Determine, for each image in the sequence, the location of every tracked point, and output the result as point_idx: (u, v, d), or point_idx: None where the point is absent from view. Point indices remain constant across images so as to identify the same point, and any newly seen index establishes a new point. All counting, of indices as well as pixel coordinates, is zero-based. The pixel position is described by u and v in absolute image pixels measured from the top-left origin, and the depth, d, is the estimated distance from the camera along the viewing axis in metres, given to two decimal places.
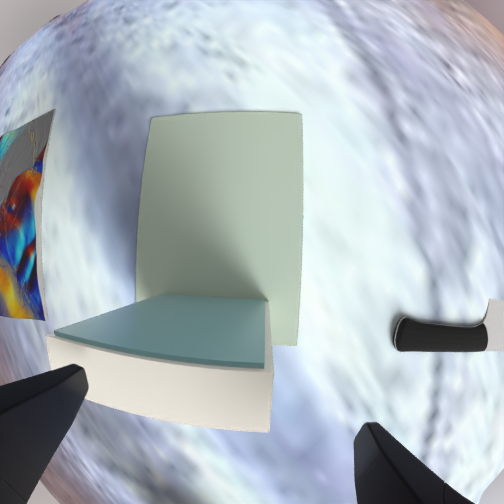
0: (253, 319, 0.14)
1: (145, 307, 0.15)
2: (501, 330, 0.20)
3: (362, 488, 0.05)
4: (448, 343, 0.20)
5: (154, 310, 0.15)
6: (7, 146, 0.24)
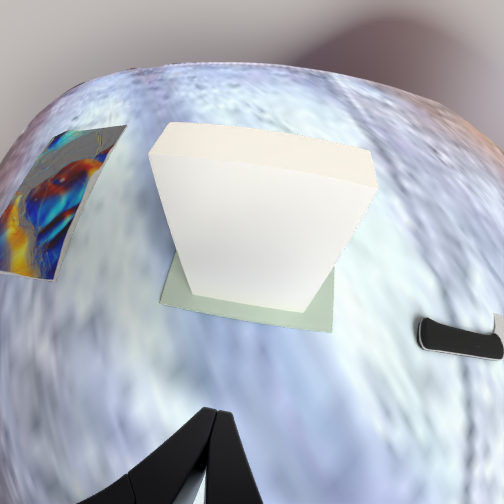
0: None
1: None
2: None
3: (205, 481, 0.05)
4: (469, 343, 0.19)
5: None
6: (69, 140, 0.33)
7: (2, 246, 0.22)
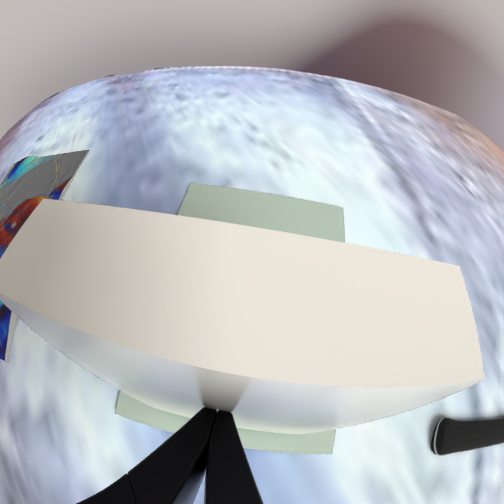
0: None
1: None
2: None
3: (205, 481, 0.05)
4: (487, 436, 0.11)
5: None
6: (28, 169, 0.26)
7: None
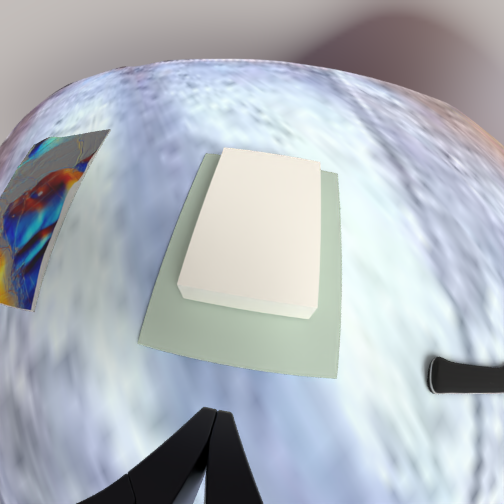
0: None
1: None
2: None
3: (205, 481, 0.05)
4: (482, 381, 0.15)
5: None
6: (49, 147, 0.29)
7: None
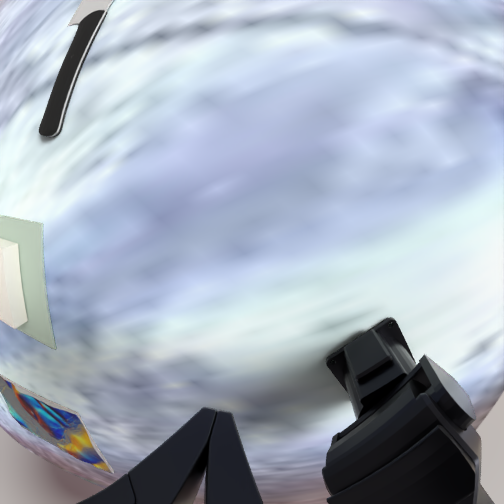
0: None
1: None
2: None
3: (205, 481, 0.05)
4: (65, 70, 0.15)
5: None
6: (15, 412, 0.29)
7: (87, 454, 0.28)
